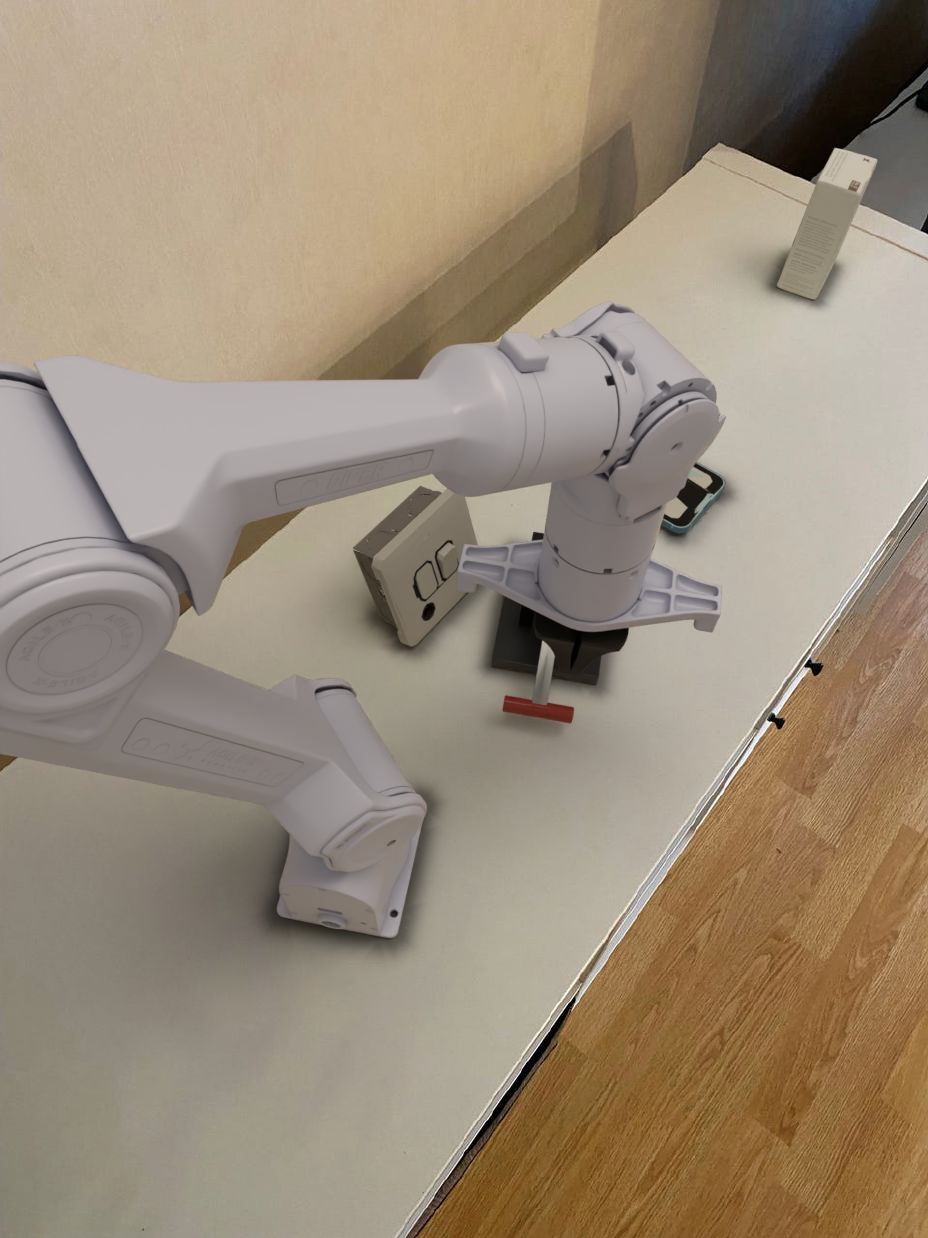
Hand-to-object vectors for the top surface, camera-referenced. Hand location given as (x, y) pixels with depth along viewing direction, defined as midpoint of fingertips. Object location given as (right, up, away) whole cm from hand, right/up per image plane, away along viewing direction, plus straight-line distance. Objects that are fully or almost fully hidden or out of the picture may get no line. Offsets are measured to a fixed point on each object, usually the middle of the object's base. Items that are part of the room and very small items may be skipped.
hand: (571, 661), depth 61 cm
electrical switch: (-10, +4, +15) cm, 19 cm away
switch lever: (-1, +1, +10) cm, 10 cm away
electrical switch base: (0, +3, +14) cm, 15 cm away
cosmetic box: (+28, +37, +37) cm, 59 cm away
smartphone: (+8, +15, +22) cm, 28 cm away
